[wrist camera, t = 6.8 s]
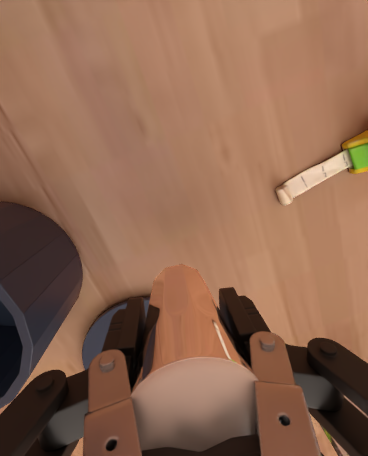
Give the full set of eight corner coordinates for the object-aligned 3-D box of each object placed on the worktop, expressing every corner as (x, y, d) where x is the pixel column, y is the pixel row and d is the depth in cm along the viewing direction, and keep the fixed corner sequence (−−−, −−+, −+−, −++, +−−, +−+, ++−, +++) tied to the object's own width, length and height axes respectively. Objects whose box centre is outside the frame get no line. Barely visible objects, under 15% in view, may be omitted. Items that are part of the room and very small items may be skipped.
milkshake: (232, 307, 16) (341, 533, 6) (151, 326, 16) (139, 588, 6) (221, 242, 15) (338, 407, 5) (132, 263, 14) (79, 473, 5)
